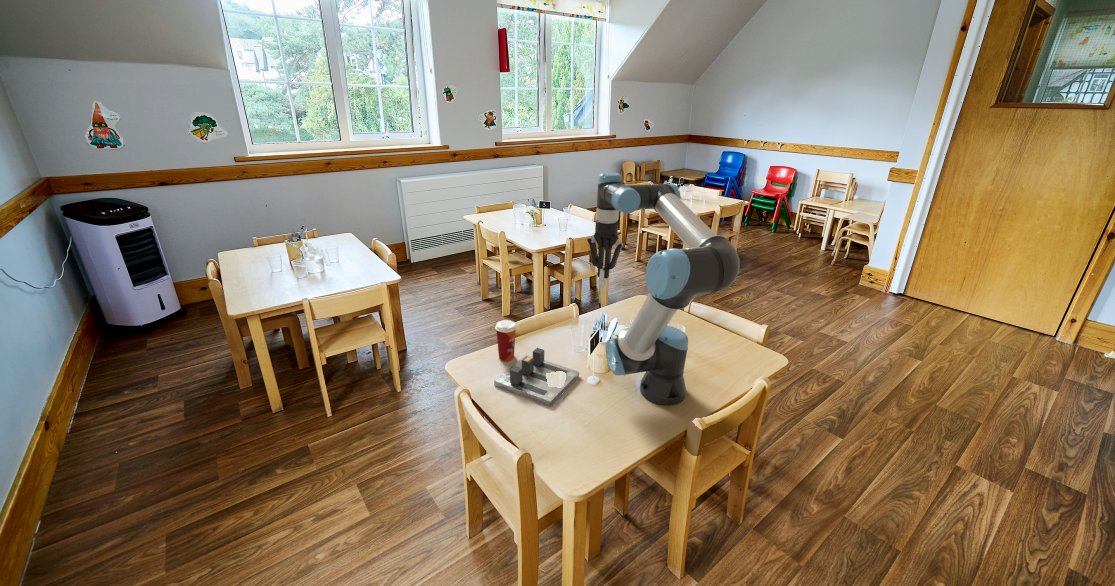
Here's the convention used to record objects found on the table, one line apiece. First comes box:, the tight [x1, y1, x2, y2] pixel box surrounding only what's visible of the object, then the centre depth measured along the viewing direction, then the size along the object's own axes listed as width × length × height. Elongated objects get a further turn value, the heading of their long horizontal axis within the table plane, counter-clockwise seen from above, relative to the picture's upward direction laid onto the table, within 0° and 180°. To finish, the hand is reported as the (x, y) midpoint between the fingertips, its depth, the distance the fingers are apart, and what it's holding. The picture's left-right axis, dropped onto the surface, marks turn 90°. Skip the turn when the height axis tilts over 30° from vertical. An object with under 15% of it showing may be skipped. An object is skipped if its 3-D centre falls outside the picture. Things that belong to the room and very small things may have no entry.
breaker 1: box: [510, 366, 523, 385], centre depth 157 cm, size 3×3×5 cm
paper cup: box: [494, 319, 517, 362], centre depth 173 cm, size 8×8×14 cm
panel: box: [493, 353, 580, 408], centre depth 162 cm, size 22×20×2 cm
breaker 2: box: [532, 347, 545, 366], centre depth 168 cm, size 3×3×5 cm
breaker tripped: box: [522, 356, 534, 375], centre depth 162 cm, size 3×3×5 cm
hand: (602, 285), depth 166 cm, fingers closed
